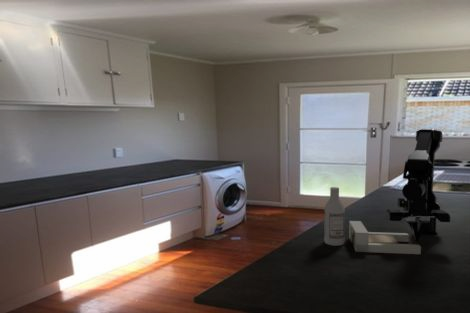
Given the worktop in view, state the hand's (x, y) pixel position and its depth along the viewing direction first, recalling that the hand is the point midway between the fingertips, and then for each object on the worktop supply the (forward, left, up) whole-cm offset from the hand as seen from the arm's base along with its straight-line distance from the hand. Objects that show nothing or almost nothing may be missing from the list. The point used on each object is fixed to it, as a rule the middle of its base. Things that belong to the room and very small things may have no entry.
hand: (416, 240), depth 118 cm
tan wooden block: (+13, 0, -3) cm, 14 cm away
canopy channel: (+12, 0, -2) cm, 12 cm away
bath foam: (+27, -1, -3) cm, 27 cm away
